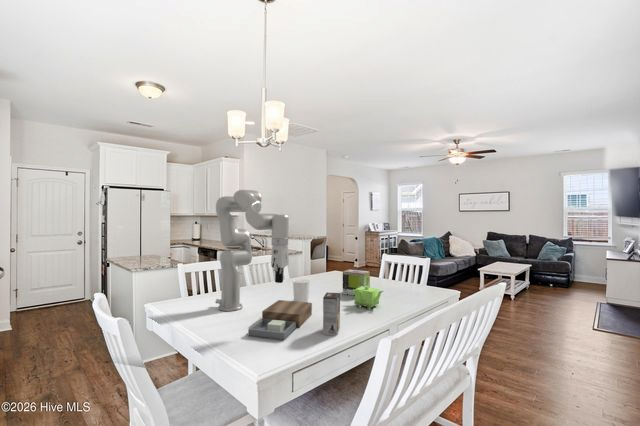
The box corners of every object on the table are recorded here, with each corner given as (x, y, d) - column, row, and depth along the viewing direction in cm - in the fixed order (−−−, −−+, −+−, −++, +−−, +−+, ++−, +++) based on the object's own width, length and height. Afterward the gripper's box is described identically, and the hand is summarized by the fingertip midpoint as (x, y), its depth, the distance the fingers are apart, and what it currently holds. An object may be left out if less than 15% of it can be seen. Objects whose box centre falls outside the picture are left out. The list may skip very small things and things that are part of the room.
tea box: (370, 294, 211) (370, 271, 210) (363, 297, 202) (363, 273, 202) (349, 291, 219) (349, 268, 218) (341, 294, 210) (342, 270, 210)
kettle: (384, 309, 177) (384, 288, 177) (359, 311, 174) (359, 290, 174) (373, 301, 192) (373, 282, 192) (350, 303, 189) (350, 283, 189)
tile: (273, 319, 148) (272, 326, 148) (267, 324, 142) (267, 330, 142) (285, 320, 146) (285, 327, 146) (280, 325, 140) (280, 332, 140)
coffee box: (325, 327, 149) (326, 291, 149) (340, 328, 148) (340, 292, 148) (322, 334, 140) (323, 297, 140) (337, 335, 139) (337, 297, 139)
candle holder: (311, 302, 189) (312, 281, 189) (295, 304, 185) (295, 283, 185) (306, 298, 198) (306, 278, 198) (290, 300, 194) (290, 279, 194)
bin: (248, 336, 137) (248, 329, 137) (262, 325, 151) (262, 318, 151) (284, 340, 133) (284, 333, 133) (295, 328, 146) (295, 322, 146)
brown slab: (262, 323, 152) (262, 311, 152) (278, 311, 172) (278, 300, 172) (299, 327, 148) (299, 314, 148) (311, 314, 167) (311, 302, 167)
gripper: (281, 243, 140) (280, 286, 140) (293, 240, 155) (292, 279, 155) (265, 243, 142) (264, 285, 142) (278, 240, 157) (277, 278, 157)
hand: (279, 282), depth 149 cm, fingers closed
